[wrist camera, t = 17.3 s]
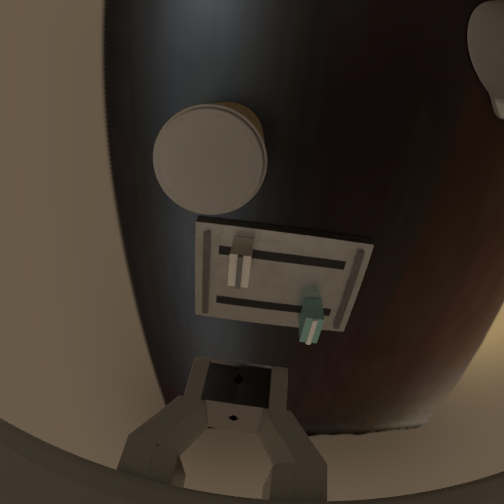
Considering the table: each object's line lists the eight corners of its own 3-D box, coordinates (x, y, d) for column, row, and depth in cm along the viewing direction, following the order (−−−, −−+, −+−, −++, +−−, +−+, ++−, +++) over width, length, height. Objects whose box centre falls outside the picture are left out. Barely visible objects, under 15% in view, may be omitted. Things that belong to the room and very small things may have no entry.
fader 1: (254, 238, 39) (251, 258, 36) (250, 268, 42) (247, 290, 38) (234, 236, 39) (229, 255, 36) (231, 266, 42) (227, 287, 38)
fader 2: (321, 299, 43) (324, 321, 40) (314, 322, 46) (316, 345, 42) (304, 297, 43) (306, 320, 40) (298, 321, 46) (299, 343, 42)
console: (371, 238, 40) (375, 247, 38) (342, 324, 48) (343, 334, 46) (198, 215, 40) (194, 223, 38) (197, 307, 48) (194, 316, 46)
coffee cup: (229, 189, 38) (209, 238, 28) (172, 135, 35) (128, 165, 25) (288, 137, 34) (292, 167, 24) (228, 77, 31) (204, 80, 21)
